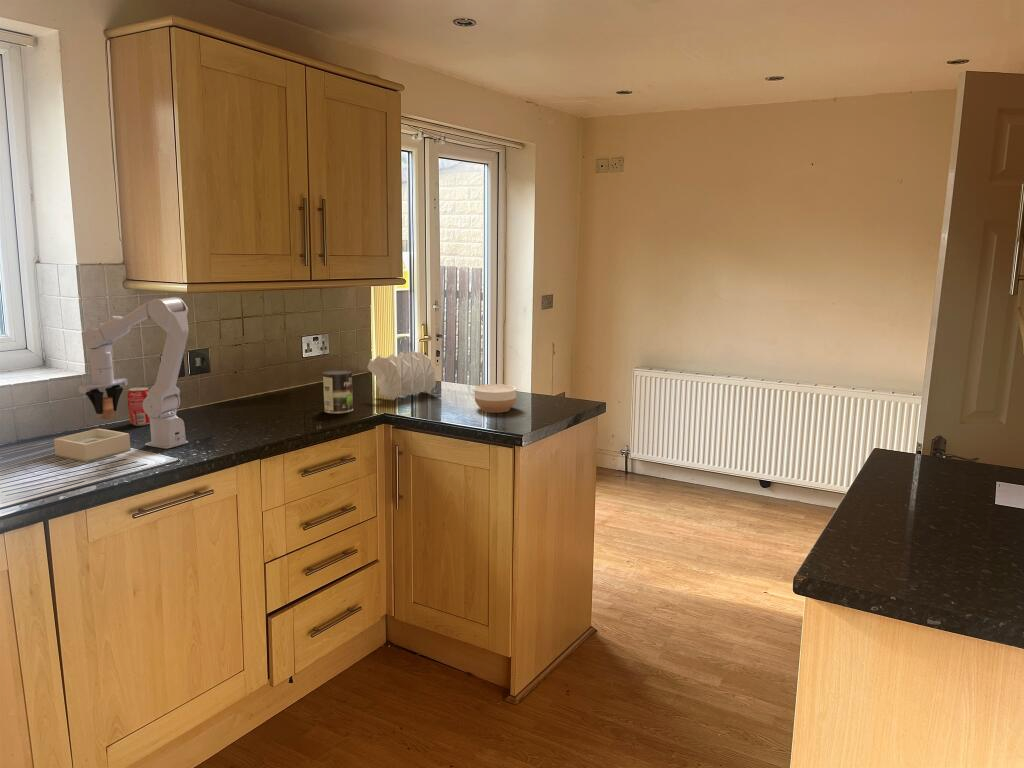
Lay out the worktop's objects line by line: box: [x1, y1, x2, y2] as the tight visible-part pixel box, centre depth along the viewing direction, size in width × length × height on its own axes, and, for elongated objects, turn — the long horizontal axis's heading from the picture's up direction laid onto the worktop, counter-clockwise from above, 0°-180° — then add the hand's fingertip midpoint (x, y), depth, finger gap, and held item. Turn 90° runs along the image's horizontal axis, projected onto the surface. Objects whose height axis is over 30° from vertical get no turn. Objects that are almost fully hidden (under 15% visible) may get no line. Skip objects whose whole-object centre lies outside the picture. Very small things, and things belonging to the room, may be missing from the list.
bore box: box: [53, 428, 132, 463], centre depth 218 cm, size 14×14×5 cm
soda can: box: [126, 386, 150, 427], centre depth 251 cm, size 7×7×12 cm
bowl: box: [472, 383, 518, 414], centre depth 276 cm, size 16×16×8 cm
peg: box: [98, 396, 115, 420], centre depth 230 cm, size 4×4×6 cm
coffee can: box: [322, 369, 354, 415], centre depth 272 cm, size 10×10×14 cm
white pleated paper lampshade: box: [367, 349, 437, 401], centre depth 297 cm, size 18×18×25 cm
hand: (106, 412), depth 230 cm, fingers closed on peg, 4 cm apart
